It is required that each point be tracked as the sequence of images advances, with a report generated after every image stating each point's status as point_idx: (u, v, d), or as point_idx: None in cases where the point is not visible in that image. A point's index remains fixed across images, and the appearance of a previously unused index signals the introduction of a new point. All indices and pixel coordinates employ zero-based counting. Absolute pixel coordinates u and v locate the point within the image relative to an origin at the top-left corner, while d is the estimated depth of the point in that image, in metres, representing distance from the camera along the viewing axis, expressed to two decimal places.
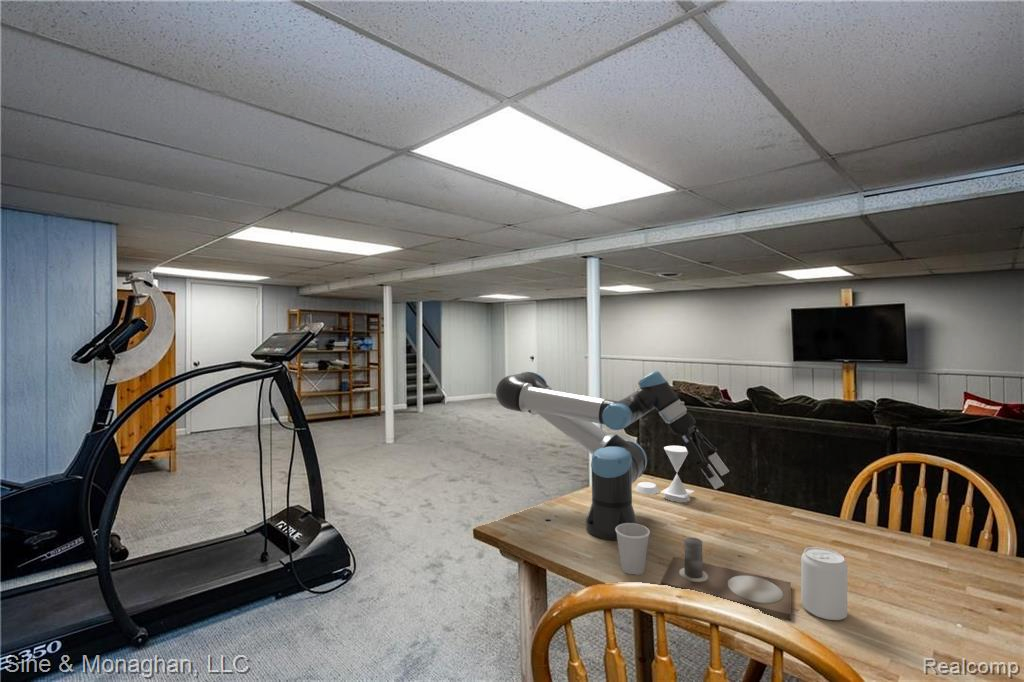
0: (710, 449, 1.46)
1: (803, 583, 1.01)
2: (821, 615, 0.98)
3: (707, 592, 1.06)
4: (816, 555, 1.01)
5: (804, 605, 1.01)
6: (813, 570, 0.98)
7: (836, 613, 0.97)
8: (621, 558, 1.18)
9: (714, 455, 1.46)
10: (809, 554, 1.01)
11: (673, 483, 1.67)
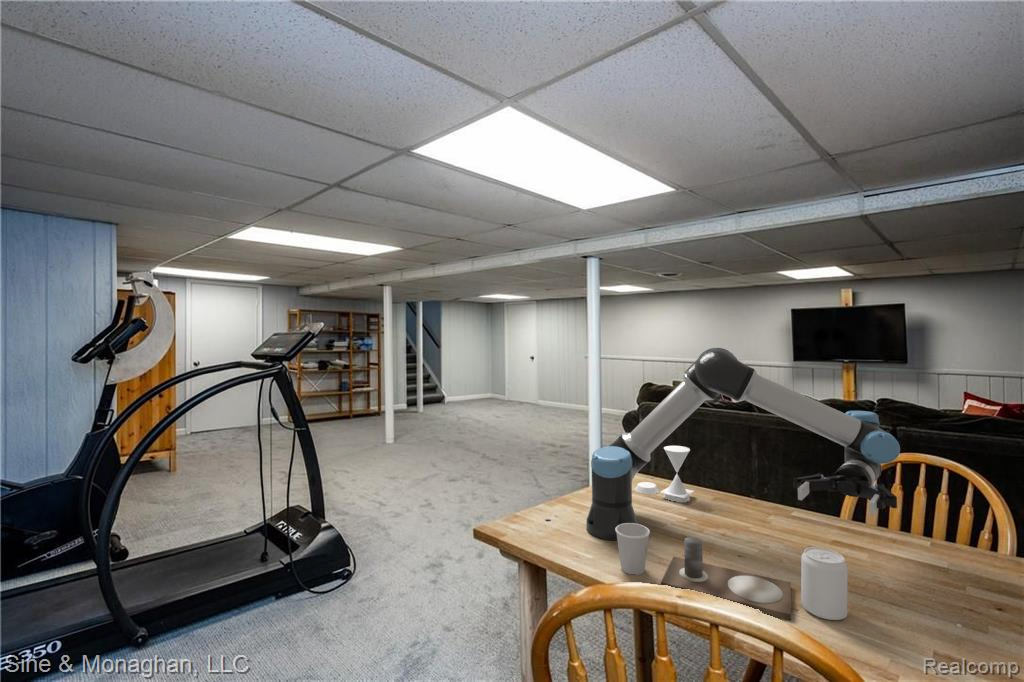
0: (812, 489, 1.17)
1: (803, 583, 1.01)
2: (821, 615, 0.98)
3: (707, 592, 1.06)
4: (816, 555, 1.01)
5: (804, 605, 1.01)
6: (813, 570, 0.98)
7: (836, 613, 0.97)
8: (621, 558, 1.18)
9: (808, 490, 1.16)
10: (809, 554, 1.01)
11: (673, 483, 1.67)
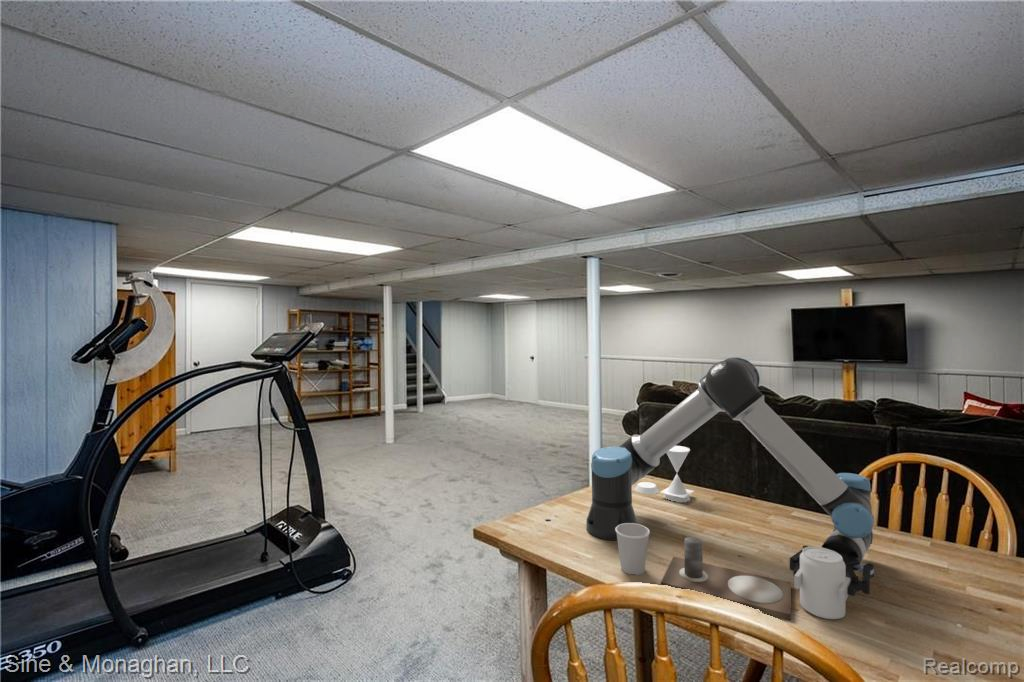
0: None
1: None
2: (818, 614, 0.98)
3: (707, 592, 1.06)
4: (814, 554, 1.01)
5: (802, 604, 1.01)
6: (810, 569, 0.99)
7: (833, 612, 0.97)
8: (621, 558, 1.18)
9: None
10: (807, 553, 1.02)
11: (673, 483, 1.67)
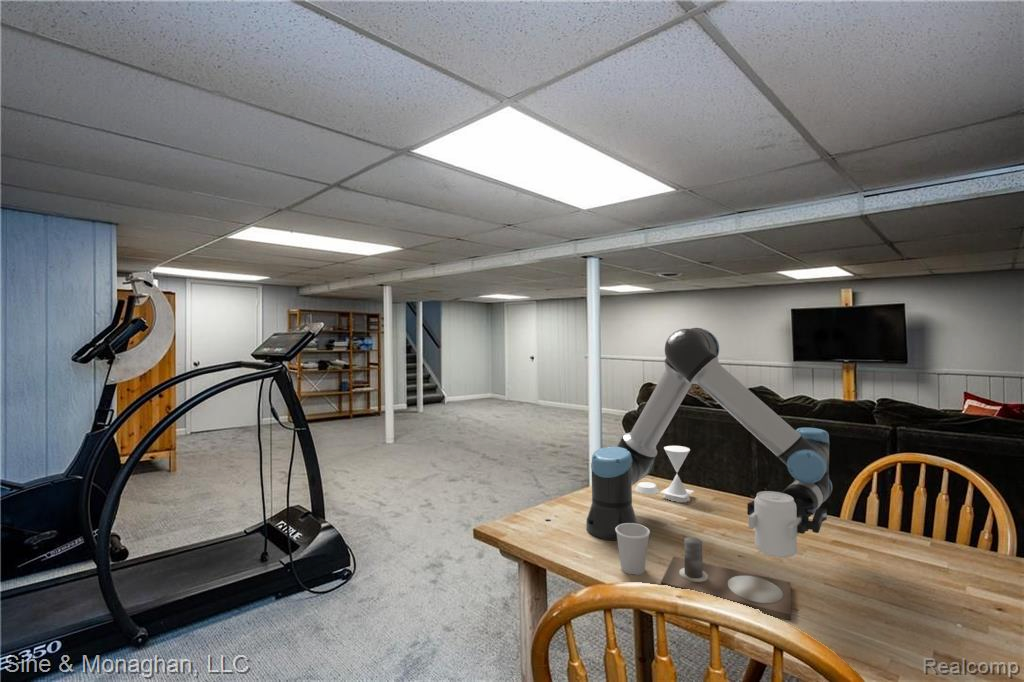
0: None
1: None
2: (770, 552, 1.02)
3: (707, 592, 1.06)
4: (768, 497, 1.06)
5: (756, 544, 1.05)
6: (762, 510, 1.03)
7: (784, 550, 1.01)
8: (621, 558, 1.18)
9: None
10: (761, 496, 1.06)
11: (673, 483, 1.67)
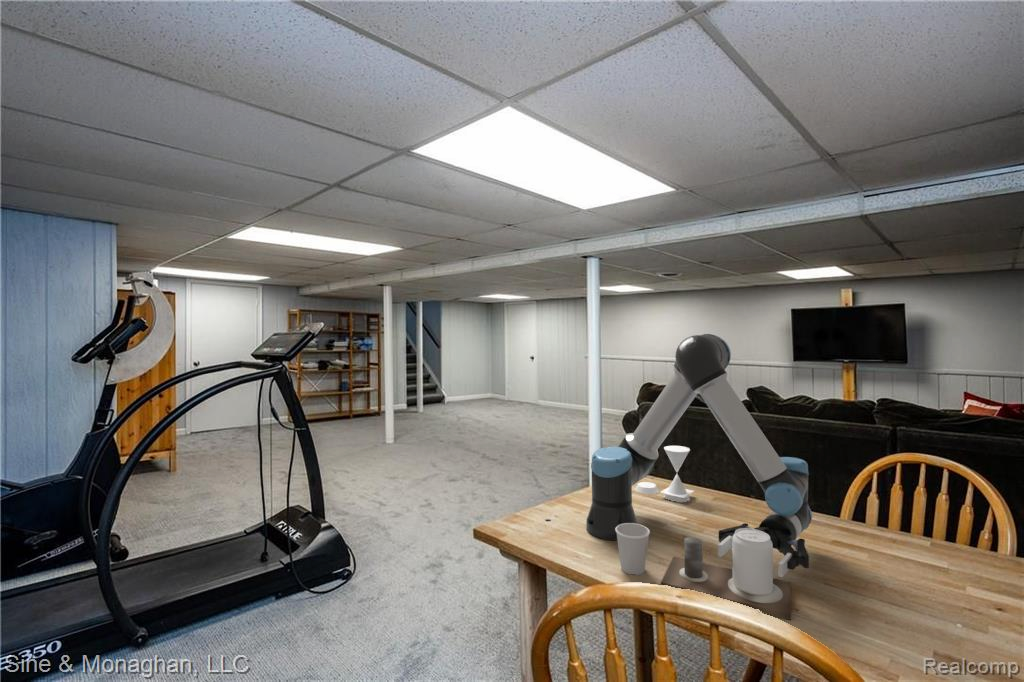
0: None
1: (733, 560, 1.08)
2: (746, 590, 1.05)
3: (707, 592, 1.06)
4: (745, 535, 1.08)
5: (733, 581, 1.08)
6: (739, 548, 1.06)
7: (759, 588, 1.04)
8: (621, 558, 1.18)
9: (731, 545, 1.13)
10: (739, 534, 1.08)
11: (673, 483, 1.67)
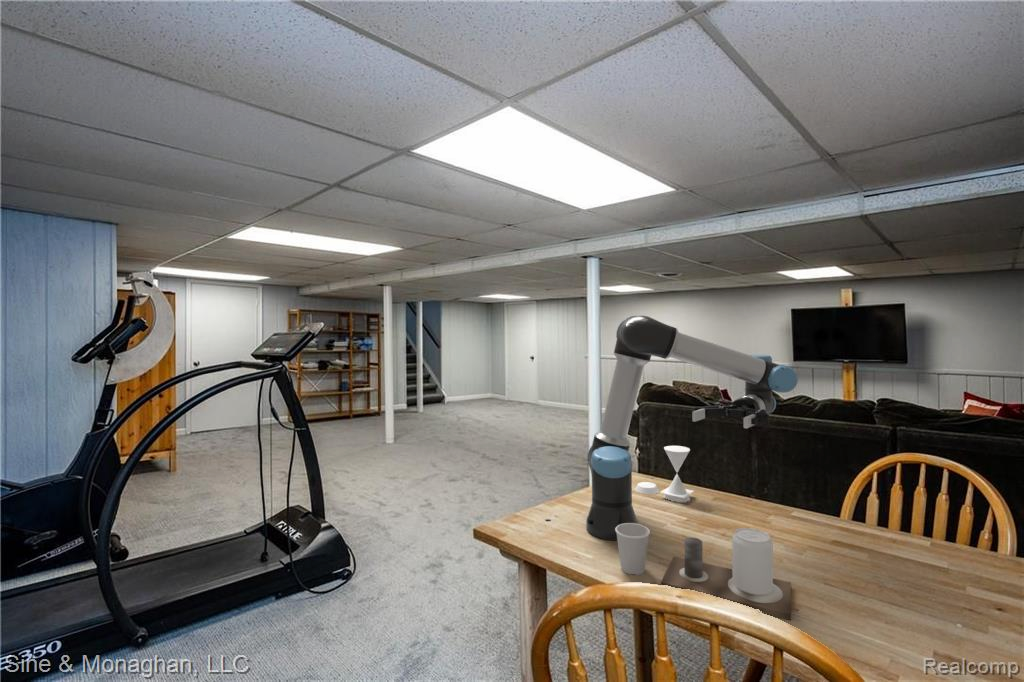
0: (708, 415, 1.38)
1: (733, 560, 1.08)
2: (746, 590, 1.05)
3: (707, 592, 1.06)
4: (745, 535, 1.08)
5: (733, 581, 1.08)
6: (739, 548, 1.06)
7: (759, 588, 1.04)
8: (621, 558, 1.18)
9: (704, 416, 1.37)
10: (739, 534, 1.09)
11: (673, 483, 1.67)
